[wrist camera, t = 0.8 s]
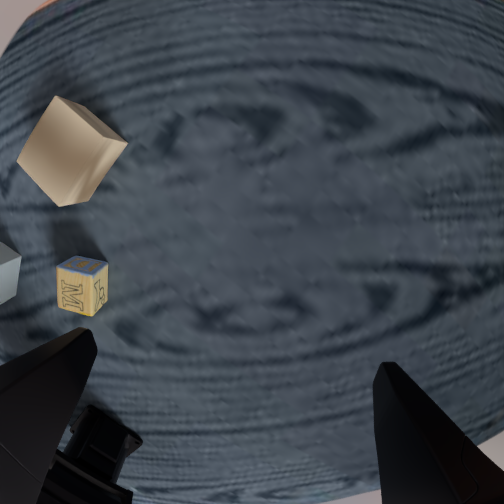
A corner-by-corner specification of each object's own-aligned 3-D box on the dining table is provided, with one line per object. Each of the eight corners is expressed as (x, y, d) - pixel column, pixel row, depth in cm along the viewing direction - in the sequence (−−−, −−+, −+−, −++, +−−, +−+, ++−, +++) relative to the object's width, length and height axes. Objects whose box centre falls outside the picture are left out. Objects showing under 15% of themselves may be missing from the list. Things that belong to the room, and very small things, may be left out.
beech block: (88, 200, 19) (58, 206, 15) (48, 161, 18) (16, 161, 15) (128, 143, 18) (103, 137, 15) (84, 106, 18) (55, 95, 14)
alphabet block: (110, 262, 20) (91, 274, 17) (109, 301, 21) (91, 318, 18) (76, 254, 20) (54, 265, 17) (75, 292, 21) (56, 307, 18)
